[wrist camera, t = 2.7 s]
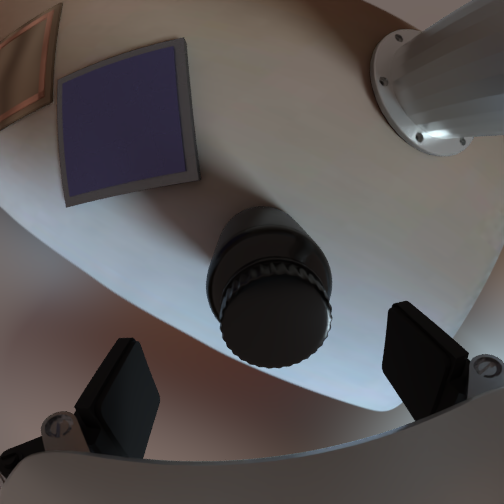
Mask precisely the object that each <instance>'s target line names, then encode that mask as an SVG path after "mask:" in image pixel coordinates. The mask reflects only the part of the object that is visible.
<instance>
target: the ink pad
mask: <svg viewBox="0 0 504 504" xmlns="http://www.w3.org/2000/svg"><path fill="white" fill-rule="evenodd" d="M57 120H58V142H59V155H60V166H61V175H62V183H63V190H64V197H65V204H66V208H67V207H70V206H74V205H78V204H82V203H86V202H90V201H95V200H99V199H103V198H108V197H112V196H117V195H121V194H126V193H131V192H136V191H140V190H146V189H151V188H156V187H161V186H167V185H173V184H178V183H184V182H190V181H197V180H201V176H200V168H199V160H198V152H197V144H196V136H195V127H194V118H193V109H192V99H191V89H190V79H189V67H188V56H187V43H186V41H185V39H184V38H179V39H174V40H170V41H166V42H162V43H158V44H154V45H150V46H147V47H143V48H140V49H136V50H133V51H130V52H127V53H123V54H120V55H117V56H115V57H112V58H109V59H106V60H103V61H101V62H98V63H96V64H93V65H91V66H88V67H86V68H83V69H81V70H79V71H76V72H74V73H72V74H70V75H67V76H65V77H63V78H61V79H59V80H58V88H57Z"/></svg>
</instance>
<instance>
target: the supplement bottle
mask: <svg viewBox="0 0 504 504" xmlns="http://www.w3.org/2000/svg"><path fill="white" fill-rule="evenodd" d="M331 291H332V275H331V270H330V266H329V263H328V261H327V259H326V257H325V255H324V253H323V252H322V250H321V249H320V248H319V246H318V245H317V244H316V243H315V242H314V240H313V239H312V238H311V237H310V236H309V235H308V234H307V233H306V232H305V231H304V230H303V228H302V227H301V226H300V225H299V224H298V223H297V222H296V221H295V220H294V219H293V218H292V217H291V216H289V215H288V214H286V213H285V212H283V211H281V210H279V209H276V208H272V207H266V206H258V207H252V208H249V209H246V210H244V211H241V212H240V213H238V214H237V215H235V216H234V217H233V218H232V219H231V220H230V221H229V222H228V223H227V225H226V226H225V228H224V229H223V231H222V233H221V235H220V238H219V241H218V244H217V246H216V249H215V252H214V255H213V257H212V260H211V263H210V266H209V269H208V274H207V280H206V293H207V299H208V302H209V305H210V308H211V310H212V312H213V314H214V316H215V317H216V319H217V320H218V321H219V323H220V330H221V332H222V338H223V340H224V341H225V342H226V345H227V347H228V348H229V349H231V350H232V352H233V354H234V355H237V356H239V358H240V359H241V360H243V361H246V362H248V363H249V364H251V365H256V366H258V367H266V368H282V367H284V366H285V367H288V366H291V365H293V364H297V363H300V362H301V361H302V360H304V359H307V358H309V357H310V355H311V354H313V353H315V352H316V351H317V349H318V348H319V347H320V346H322V345H323V341H324V340H325V339H326V338H327V337H328V332H329V330H330V329H331V324H330V323H331V321H332V315H331V312H332V307H331V305H330V303H329V300H330V296H331Z"/></svg>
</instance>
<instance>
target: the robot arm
mask: <svg viewBox="0 0 504 504" xmlns="http://www.w3.org/2000/svg"><path fill="white" fill-rule="evenodd" d="M370 77H371V83H372V88H373V91H374V94H375V98H376V100H377V103H378V105H379V107H380V109H381V111H382V113H383V114H384V116H385V118H386V119H387V121H388V122H389V124H390V125H391V126H392V128H393V129H394V130H395V131H396V132H397V133H398V135H399V136H400V137H402V138H403V139H404V140H405V141H406V142H407V143H408V144H410V145H411V146H413V147H414V148H416V149H417V150H419V151H421V152H424V153H426V154H429V155H435V156H451V155H455V154H458V153H460V152H461V151H463V150H465V149H466V147H467V146H468V145H469V144H470V143H471V141H472V140H473V138H474V137H477V136H496V135H504V0H472V1H470V2H469V3H467V4H465V5H463V6H462V7H460V8H459V9H457V10H455V11H454V12H452V13H450V14H449V15H447V16H446V17H444V18H443V19H441V20H439V21H438V22H436V23H435V24H433V25H432V26H430V27H429V28H427V29H426V30H425V31H423V32H421V31H418V30H412V29H401V30H397V31H394V32H391V33H390V34H388V35H387V36H386V37H384V38H383V39H382V40H381V41H380V42H379V43H378V44H377V46H376V48H375V49H374V51H373V54H372V58H371V62H370ZM380 83H381V84H382V85H381V84H380ZM415 137H416V138H415ZM468 354H469V353H468V352H467V351H466V350H465V349H464V348H462V346H460V345H459V344H458V343H457V342H456V341H455V340H454V339H452V338H451V337H450V336H449V335H448V334H447V333H445V332H444V331H443V330H442V329H441V328H440V327H438V326H437V325H436V324H435V323H434V322H433V321H431V320H430V319H429V318H428V317H427V316H425V315H424V314H423V313H422V312H421V311H419V310H418V309H417V308H416V307H415V306H413V305H412V304H411V303H410V302H408V301H403V302H399V303H394V304H393V305H392V308H390V309H389V310H388V319H387V329H386V338H385V347H384V354H383V361H382V370H383V373H384V374H385V376H386V377H387V379H388V380H389V382H390V383H391V385H392V386H393V388H394V389H395V391H396V392H397V394H398V395H399V397H400V398H401V400H402V401H403V403H404V404H405V406H406V407H407V409H408V411H409V412H410V414H411V415H412V417H413V418H414V420H415V422H412V423H409V424H407V425H404V426H401V427H399V428H396V429H393V430H390V431H387V432H384V433H380V434H377V435H374V436H371V437H367V438H364V439H361V440H356V441H353V442H349V443H345V444H341V445H337V446H332V447H328V448H323V449H318V450H313V451H308V452H302V453H296V454H290V455H283V456H275V457H267V458H257V459H247V460H231V461H166V460H151V459H143V457H144V453H145V450H146V447H147V443H148V440H149V436H150V433H151V430H152V426H153V423H154V420H155V416H156V413H157V410H158V407H159V403H160V396H159V393H158V390H157V388H156V385H155V383H154V380H153V378H152V375H151V373H150V370H149V367H148V365H147V362H146V359H145V357H144V353H143V350H142V347H141V345H140V343H139V342H138V341H135V339H134V338H119V339H118V340H117V341H116V343H115V345H114V346H113V347H112V349H111V350H110V352H109V353H108V355H107V356H106V358H105V359H104V361H103V362H102V364H101V365H100V367H99V368H98V370H97V371H96V373H95V374H94V376H93V377H92V379H91V381H90V382H89V384H88V385H87V387H86V388H85V390H84V392H83V393H82V395H81V396H80V398H79V399H78V401H77V403H76V405H75V406H74V407H75V409H76V412H75V413H74V414H72V413H70V412H67V411H61V412H56V413H54V414H52V415H50V416H49V417H47V418H46V419H45V421H44V422H43V423H42V426H41V435H42V436H41V437H38V438H36V439H34V440H31V441H28V442H26V443H23V444H21V445H18V446H16V447H13V448H10V449H8V450H6V451H4V452H3V453H2V455H1V456H0V504H504V363H503V361H502V360H500V359H499V358H498V357H495V356H493V355H488V354H482V355H478V356H476V357H474V358H473V359H472V360H471V361H470V360H469V359H467V358H468Z"/></svg>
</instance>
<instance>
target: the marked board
mask: <svg viewBox="0 0 504 504" xmlns="http://www.w3.org/2000/svg"><path fill="white" fill-rule="evenodd" d="M62 5H63V3H59V4H57V5H55V6H53V7H52V8H50V9H48V10H46V11H45V12H43V13H41V14H40V15H38V16H36V17H35V18H33V19H32V20H30V21H29V22H27V23H26V24H24V25H23V26H21V27H20V28H18V29H17V30H15V31H14V32H12V33H11V34H10V35H8V36H7V37H6V38H4V39H3V40H2V41H0V131H1V130H2V129H4V128H5V127H7V126H9V125H10V124H12V123H14V122H15V121H17V120H19V119H21V118H22V117H24V116H26V115H28V114H30V113H32V112H34V111H35V110H37V109H39V108H41V107H43V106H45V105H47V104H49V103H52V102H53V74H54V60H55V50H56V41H57V34H58V27H59V21H60V15H61V10H62Z"/></svg>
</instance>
